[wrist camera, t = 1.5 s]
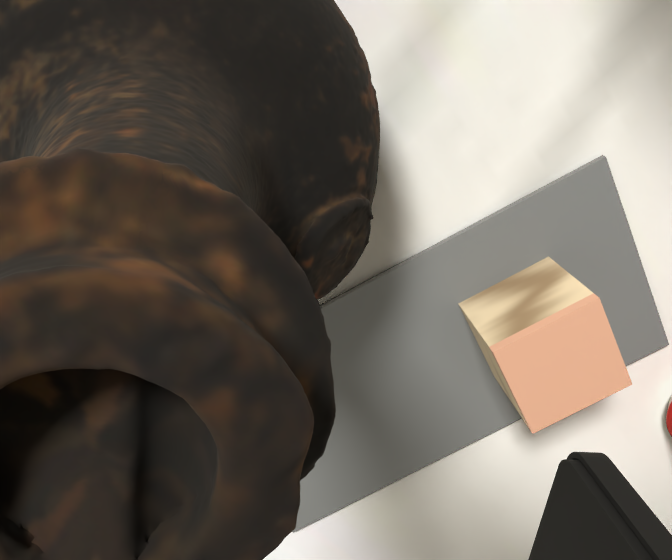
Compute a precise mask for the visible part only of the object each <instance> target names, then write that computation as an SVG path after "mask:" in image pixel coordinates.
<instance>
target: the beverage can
mask: <svg viewBox="0 0 672 560" xmlns="http://www.w3.org/2000/svg"><path fill="white" fill-rule="evenodd" d="M666 424H667V429H668V431H669V433H670V435H671V436H672V396H671V398H670V401H669V404H668V410H667V415H666Z"/></svg>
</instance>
